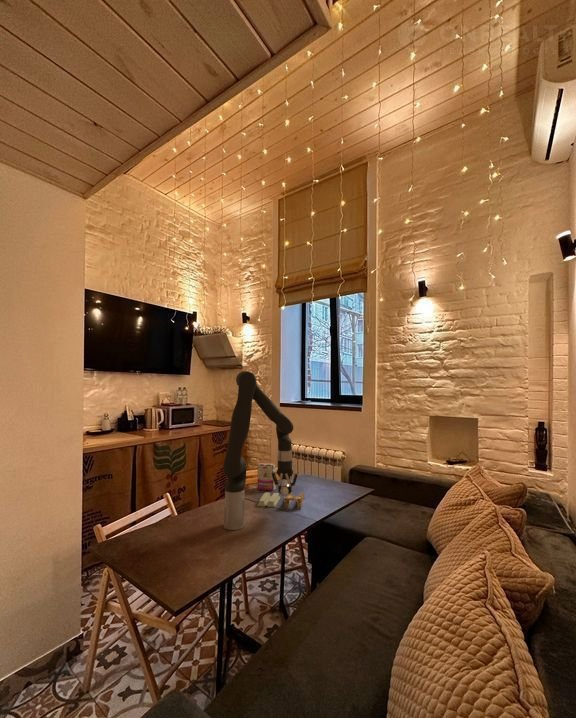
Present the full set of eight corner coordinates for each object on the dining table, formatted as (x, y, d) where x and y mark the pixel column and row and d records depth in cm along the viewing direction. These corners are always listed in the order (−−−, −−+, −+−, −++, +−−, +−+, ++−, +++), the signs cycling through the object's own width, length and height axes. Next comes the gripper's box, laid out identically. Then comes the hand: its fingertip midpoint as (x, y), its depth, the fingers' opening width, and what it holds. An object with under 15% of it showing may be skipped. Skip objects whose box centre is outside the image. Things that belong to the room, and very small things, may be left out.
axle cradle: (257, 506, 184) (257, 500, 185) (263, 497, 198) (263, 492, 198) (275, 507, 183) (275, 501, 183) (280, 498, 196) (280, 493, 197)
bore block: (284, 508, 181) (284, 497, 181) (289, 498, 196) (289, 488, 197) (300, 509, 179) (300, 498, 179) (304, 499, 195) (304, 489, 195)
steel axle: (287, 495, 163) (287, 487, 164) (280, 495, 164) (279, 487, 164) (292, 487, 177) (292, 479, 177) (285, 487, 178) (285, 479, 178)
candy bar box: (276, 488, 214) (275, 463, 215) (273, 491, 209) (273, 465, 210) (260, 487, 217) (260, 462, 218) (257, 489, 212) (257, 464, 214)
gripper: (299, 457, 170) (299, 491, 169) (273, 456, 173) (273, 490, 171) (297, 461, 162) (297, 496, 161) (269, 460, 165) (269, 495, 164)
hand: (284, 493), depth 166 cm, fingers closed on steel axle, 4 cm apart
